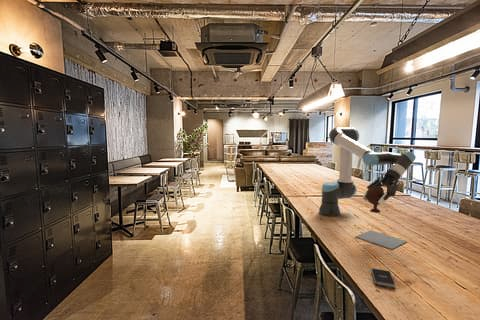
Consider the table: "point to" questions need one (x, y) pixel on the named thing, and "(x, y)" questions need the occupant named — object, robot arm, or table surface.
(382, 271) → the external hard drive
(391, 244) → the grey mat
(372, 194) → the ice cream bowl
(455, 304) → the table surface
